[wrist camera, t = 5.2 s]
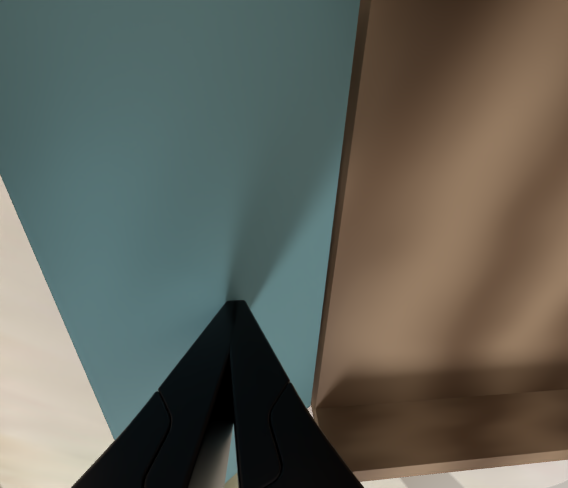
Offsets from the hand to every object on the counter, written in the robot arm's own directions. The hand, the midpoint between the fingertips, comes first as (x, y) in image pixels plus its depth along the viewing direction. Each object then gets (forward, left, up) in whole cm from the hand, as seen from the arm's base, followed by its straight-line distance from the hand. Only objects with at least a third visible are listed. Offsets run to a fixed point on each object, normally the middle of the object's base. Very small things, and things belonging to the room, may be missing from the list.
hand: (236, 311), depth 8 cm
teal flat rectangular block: (-3, 0, -2) cm, 4 cm away
